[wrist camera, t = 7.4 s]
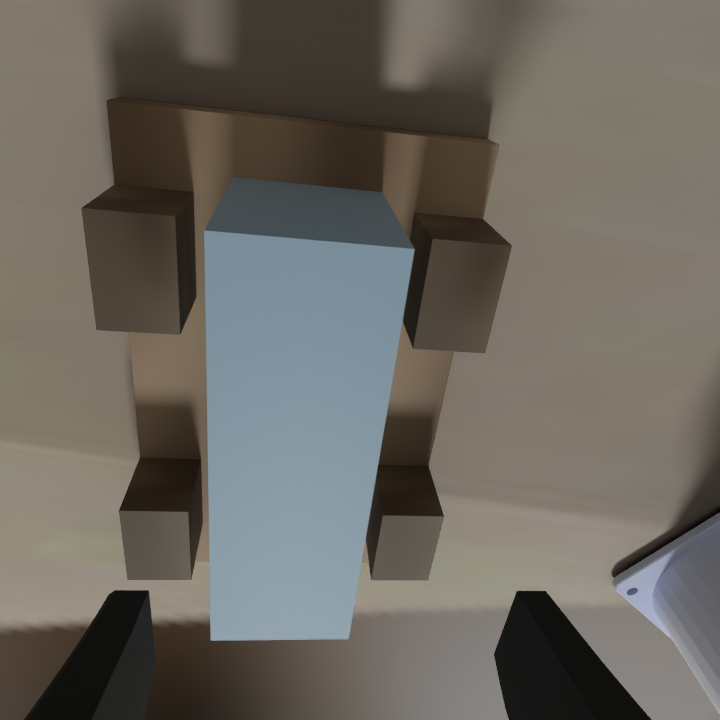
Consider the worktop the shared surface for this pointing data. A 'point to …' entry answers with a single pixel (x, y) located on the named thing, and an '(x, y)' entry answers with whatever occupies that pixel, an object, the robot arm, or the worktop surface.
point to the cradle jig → (188, 315)
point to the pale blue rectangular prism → (296, 399)
